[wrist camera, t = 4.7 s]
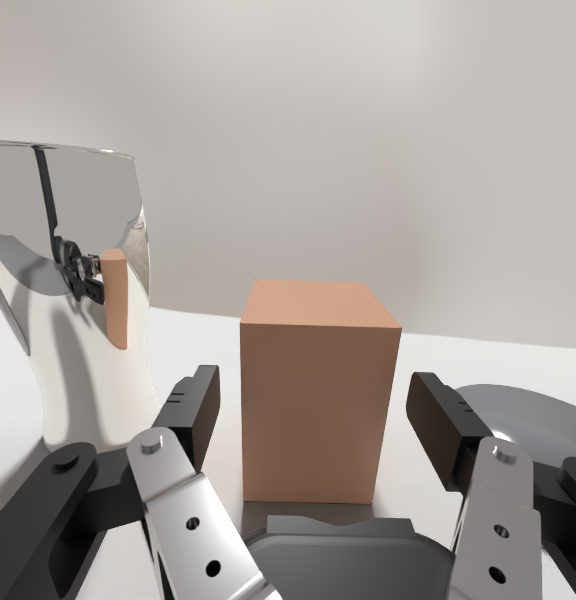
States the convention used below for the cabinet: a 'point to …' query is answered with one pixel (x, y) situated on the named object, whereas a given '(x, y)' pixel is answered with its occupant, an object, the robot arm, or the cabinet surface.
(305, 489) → the peach pillar
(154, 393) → the beer glass
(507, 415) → the grey round puck
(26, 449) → the cabinet surface
